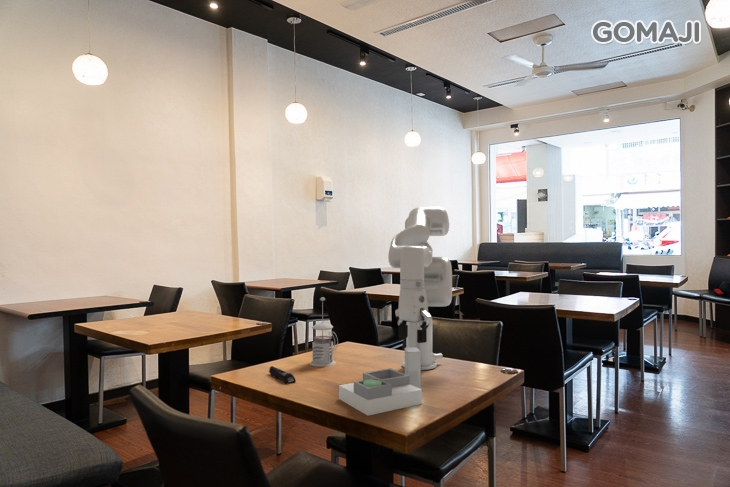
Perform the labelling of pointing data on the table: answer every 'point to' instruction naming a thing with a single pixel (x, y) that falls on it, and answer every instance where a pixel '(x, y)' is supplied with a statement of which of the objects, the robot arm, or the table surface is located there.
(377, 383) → the on button
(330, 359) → the french press
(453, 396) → the table surface
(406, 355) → the skincare box
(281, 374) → the electric trimmer
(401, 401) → the white socket tray
